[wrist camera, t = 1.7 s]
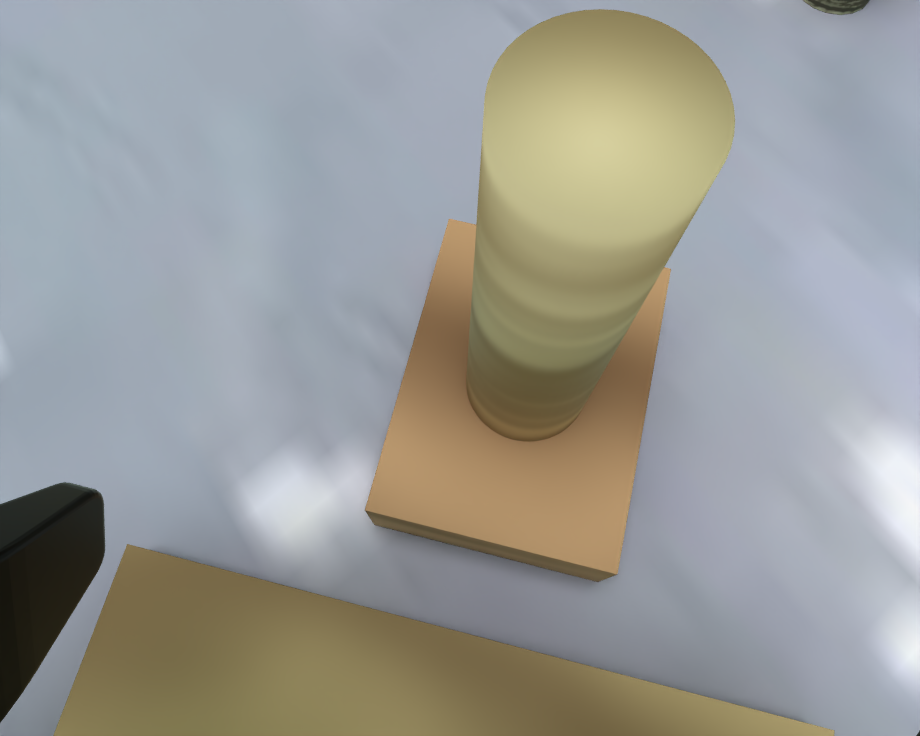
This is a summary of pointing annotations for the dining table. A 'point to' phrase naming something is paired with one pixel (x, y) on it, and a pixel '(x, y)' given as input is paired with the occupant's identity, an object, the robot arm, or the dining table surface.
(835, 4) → the lighter
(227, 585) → the board
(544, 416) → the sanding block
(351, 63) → the dining table surface
